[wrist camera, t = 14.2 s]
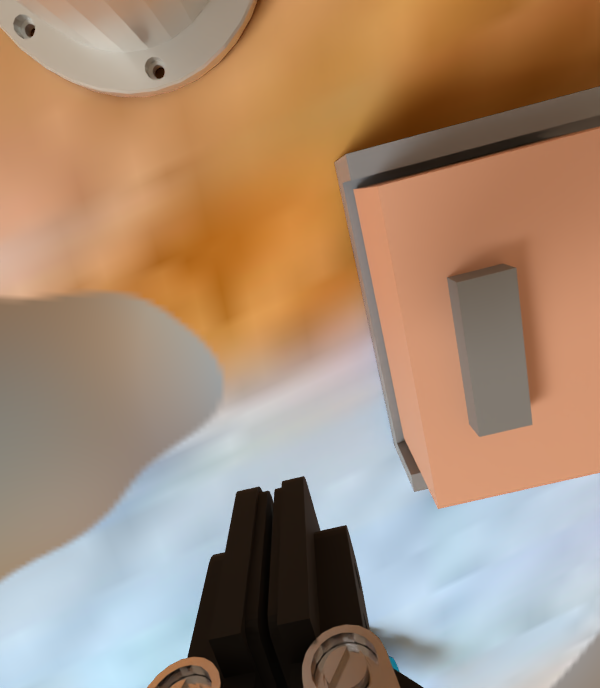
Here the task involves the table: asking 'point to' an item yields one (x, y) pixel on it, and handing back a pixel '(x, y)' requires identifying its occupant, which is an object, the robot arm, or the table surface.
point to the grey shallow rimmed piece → (435, 152)
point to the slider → (493, 314)
